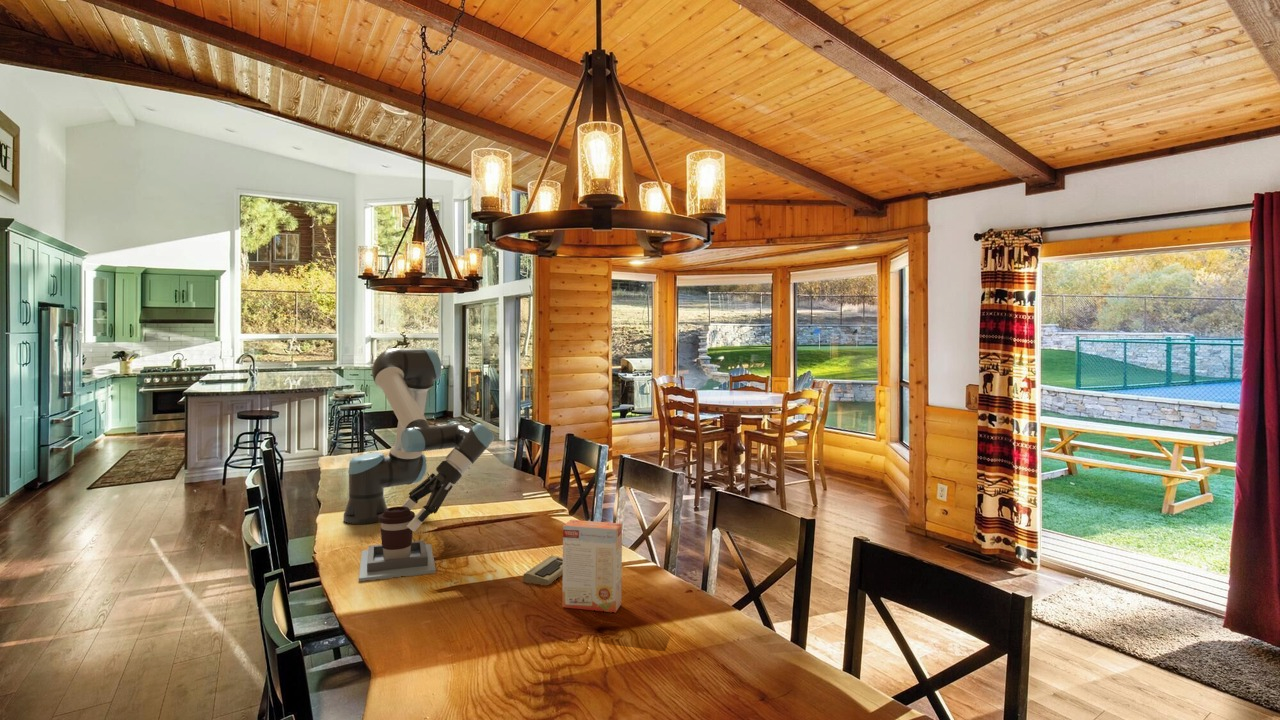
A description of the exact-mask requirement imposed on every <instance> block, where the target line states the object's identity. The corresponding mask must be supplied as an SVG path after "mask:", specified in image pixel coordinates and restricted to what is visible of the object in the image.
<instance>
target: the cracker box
mask: <svg viewBox="0 0 1280 720" xmlns="http://www.w3.org/2000/svg"><path fill="white" fill-rule="evenodd" d="M622 554H623V524H622V523H619V522H607V521H591V520H580V519H579V520H578V519H570V520H569V521H567V522H565V524H564V525H562V558H563V575H562V591H561V592H562V593H561V594H562V597H561V598H562V608H568V609H577V610H585V611H586V610H587V611H594V610H595V611H594V612H603V611H604V613H605V612H606V613H612V612H614V614H615V613H617V611H619V609H620V606H621V605H622V587H623V586H622V585H623V584H622V583H623V582H622V578H623V577H622V576H623V575H622V574H623V573H622V572H623V570H622V569H623V562H622V561H623V560H622V559H623V557H622V556H623V555H622Z"/></svg>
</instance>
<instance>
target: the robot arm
mask: <svg viewBox="0 0 1280 720" xmlns="http://www.w3.org/2000/svg"><path fill="white" fill-rule="evenodd" d="M371 375H372V379H373V381H374V384H375V385H376V387H377V388H378V389H380V390H381V391H382V392H383V393H384V396H385V397H386V399H387V401H388V403H389V405H390V407H391V409H392V411H393V413H394V415H395V416H396V418H397V420H398V422H397V428H396V435H395V443H394V445H393V446H391V448H390V449H389V453H388V455H384V454H383V453H382V452H369V453H368V452H367V453H362V454H359V455H357V456H354V457H352V458H351V459H350V461H349V463H348V470H347V471H348V501H347V504H346V507H345V509H344V512H343V522H344V521H345V522H344V523H346V522H347V524H349V523H352V524H351V525H367V524H368V523H369V524H375V523H380V522H379V515H380V514H382V513H384V510H385V509H387V508H388V505H387V502H386V500H385V497H384V496H385V495H384V489H386V488H391V487H399V486H405V485H407V486H408V485H412V484H416V483H417V484H418V483H419V482H421V483H420V484H418V485H417V486H416V487H415V488H413V489H412V490H410V492H409V493H408V498H407V499H406V500H405V502H404V503H403V504H402V505H401V506H404V507H408V508H409V509H410V511H412V509H413V508H414V507H415V506H416V505H417V504H418V503H419V500H421V499H423V498H424V497H425V496H427V495H428V494H430V496H429V498H428V501H427V502H426V505H423V506H422V508H421V509H420V510H419V511H418V513H417V514H415V517H414V518H413V520H412V521H411V522H410V523H409V524H408V525H407V527H408V528H409V529H411V530H412V531H413V532H414V533H416V531H417V529H419V528H420V527H421V525H423V523H424V522H425V521H426V520H427V518H429V516H430V515H432V514H433V515H434V514H437V513H438V511H439V509H440V508H441V505H442V504H443V502H444V500H445V499H446V497H447V496H448V493H449V492H450V491H451V490H452V489H453V485H456V484H457V483H458V481H459V480H460V479H461V478H462V474H465V473H466V472H467V471H468V470H470V469H471V466H472V465H473V464H474V463H475V462H476V461H477V460H478V459H479V457H480V456H481V455H483V453H484V452H485V451H486V450H487V449H488V448H489V446H490V445H491V443H492V442H493V441H494V439H495V435H494V433H493V432H492V431H491V430H490V429H489V428H488V427H486V426H485V425H484V424H482V423H480V422H479V423H476V424H475V425H474V426H472V427H470V426H468V425H467V424H465V423H463V422H461V421H455V420H454V421H453V420H452V421H450V422H447V423H446V424H444V425H430V424H429V423H428V420H427V418H426V417H425V409H426V403H427V397H428V391H429V390H430V389H432V388H433V384H434V381H437V380H439V379H440V378H441V376H442V363H441V359H440V356H439V354H438V352H436V351H435V350H434V349H432V348H424V347H419V348H415V347H414V348H411V347H409V348H405V347H404V348H402V347H401V348H399V347H398V348H397V347H396V348H395V347H394V348H389V349H387V350H384V351H383V352H381V353H380V354H379V355H378V356H377V358H376V359H375V360H374V362H373V364H372V369H371ZM447 449H452V450H451V451H450V452H449V453H448V454H447V455H446V457H445V460H442V461H441V463H439V464H438V465H437V467H436V468H435V470H436V472H437V474H435V473H433V472H432V473H431V474H430V475H428V477H427V478H426V479H425V480H423V479H424V476H425V475H426V472H427V457H426V455H425V454H424V453H423V452H428V451H435V450H447ZM421 480H423V481H421ZM366 523H367V524H366ZM369 524H368V525H369ZM413 532H412V533H413Z"/></svg>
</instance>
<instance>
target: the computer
mask: <svg viewBox="0 0 1280 720" xmlns="http://www.w3.org/2000/svg"><path fill="white" fill-rule="evenodd" d="M562 574H563V557H561V556H557V555H550V556H548V557H546V558H545V559H544V560H542V561H541V562H539V563H537V564H535V566H533V567H532V568H531V569H529V570H527V571H526V572H524V573H523V576H522V582H523V583H525V582H526V583H527V584H531V583H533V585H537V584H542V585H541V586H543V585H549V584H550V585H551V584H552V582H553V581H554V580H555V581H556V579H557V578H558V577H559V578H561V577H560V576H561V575H562ZM562 576H563V575H562ZM559 578H558V579H559ZM558 579H557V580H558ZM555 581H554V582H555ZM554 582H553V583H554ZM550 585H549V586H550Z"/></svg>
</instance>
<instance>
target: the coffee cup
mask: <svg viewBox="0 0 1280 720" xmlns="http://www.w3.org/2000/svg"><path fill="white" fill-rule="evenodd" d="M415 516H416V513H415V511H412V510H410V509H409V508H408V507H404V506H402V505H401V506H400V505H399V506H391V507H387V509H385V510H384V513H382V514H380V515H379V522H378V523H380V526H381V527H380V539H381V545H382V548H383V556H384V560H388V559H398V558H407V557H410V551H411V544H412V542H413V531H412V530H411V529H409V528H408V527H407V525H408V524H409V523H410V522H411V521H412V520H413V518H414V517H415Z"/></svg>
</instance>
